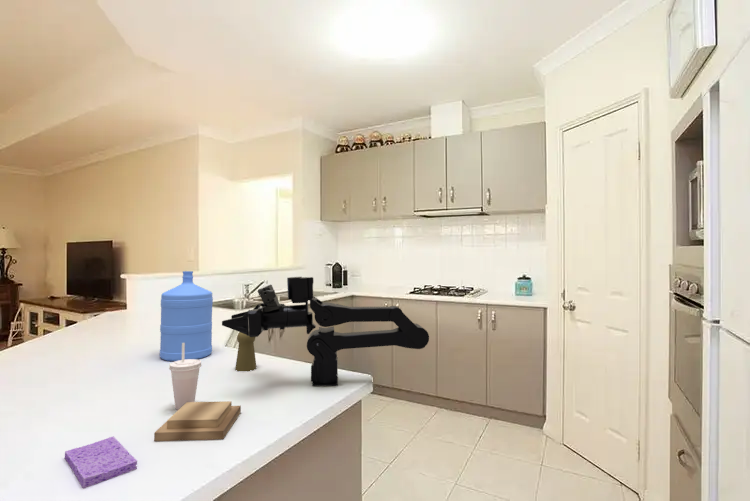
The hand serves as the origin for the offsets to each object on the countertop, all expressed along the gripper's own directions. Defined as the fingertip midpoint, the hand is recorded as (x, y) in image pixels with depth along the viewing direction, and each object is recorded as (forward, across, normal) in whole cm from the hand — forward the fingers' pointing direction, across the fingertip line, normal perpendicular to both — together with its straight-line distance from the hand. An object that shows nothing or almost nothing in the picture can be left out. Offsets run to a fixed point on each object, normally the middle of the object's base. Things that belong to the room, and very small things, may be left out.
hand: (227, 320), depth 100 cm
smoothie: (+6, +14, +17) cm, 23 cm away
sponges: (+11, +37, +17) cm, 42 cm away
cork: (-1, -15, +17) cm, 23 cm away
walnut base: (-1, +24, +17) cm, 29 cm away
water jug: (+22, -32, +16) cm, 42 cm away
